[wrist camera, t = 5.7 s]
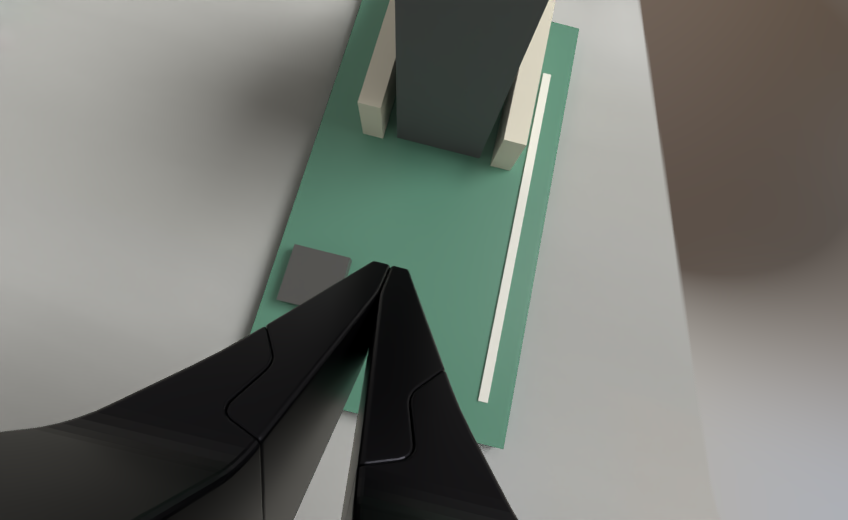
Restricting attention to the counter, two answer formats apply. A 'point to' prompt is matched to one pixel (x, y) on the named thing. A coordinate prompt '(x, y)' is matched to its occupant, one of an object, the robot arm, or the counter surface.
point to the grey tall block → (458, 67)
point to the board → (432, 211)
